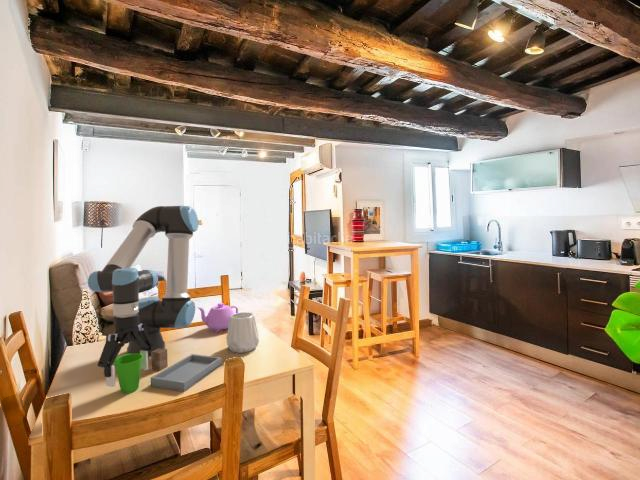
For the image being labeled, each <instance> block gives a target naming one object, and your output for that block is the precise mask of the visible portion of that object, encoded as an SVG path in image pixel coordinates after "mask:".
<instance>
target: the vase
mask: <svg viewBox="0 0 640 480" xmlns="http://www.w3.org/2000/svg"><path fill="white" fill-rule="evenodd" d="M235 313H236V312H235ZM235 313H234V314H233V315H231V316H230V318H229V325H228V330H227V333H226V344H227V348H228V349H229V350H230V351H231V352H232V353H237V354H238V353H239V354H242V353H243V354H245V353H249V352H251V351H253V350H255V349H256V348H257V347H258V345H259V342H260V340H259V339H260V338H259V331H258V326H257V322H256V317H255V315H254V314H253V312H238V313H236V314H235Z"/></svg>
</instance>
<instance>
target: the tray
mask: <svg viewBox="0 0 640 480" xmlns="http://www.w3.org/2000/svg"><path fill="white" fill-rule="evenodd" d="M221 366H223V357H221V356H211V355H205V354H204V355H203V354H196V353H191V354H190V355H188V356H186V357H185V358H182V359H181V360H179V361H177V362H175V363H174V364H172V365H170V366H168V367H166V368H164V369H163V370H161V371H159V373H158V372H157V373H156V374H154V375H153V376H151V377H150V387H153V388H159V389H167V390H172V391H177V392H187V391H188V390H189V389H190V388H192V387H194V386H195V385H196V384H198V383H199V382H201V381H202V380H204V378H206V377H207V376H209V375H210V374H211V373H213V372H214V371H216V370H217V369H218V368H220V367H221Z"/></svg>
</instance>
